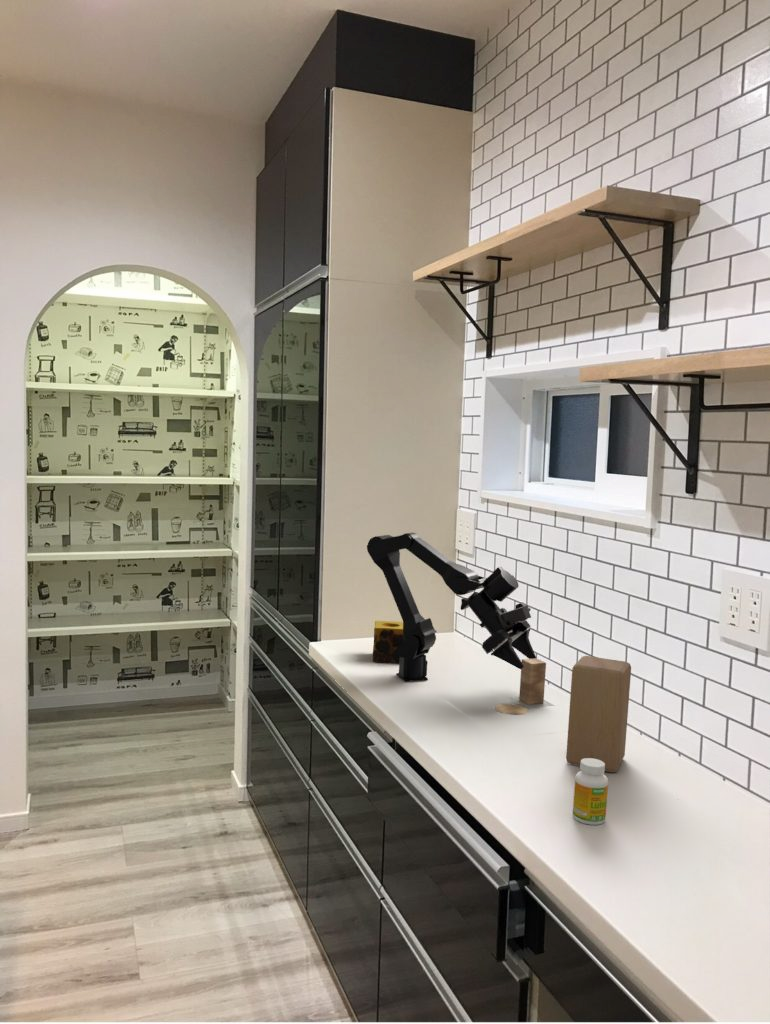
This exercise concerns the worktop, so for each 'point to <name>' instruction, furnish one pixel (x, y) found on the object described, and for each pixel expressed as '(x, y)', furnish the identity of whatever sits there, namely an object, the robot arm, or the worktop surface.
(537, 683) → the walnut block
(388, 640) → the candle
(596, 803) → the supplement bottle
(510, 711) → the cork coaster
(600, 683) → the block
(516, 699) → the tile
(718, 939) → the worktop surface
